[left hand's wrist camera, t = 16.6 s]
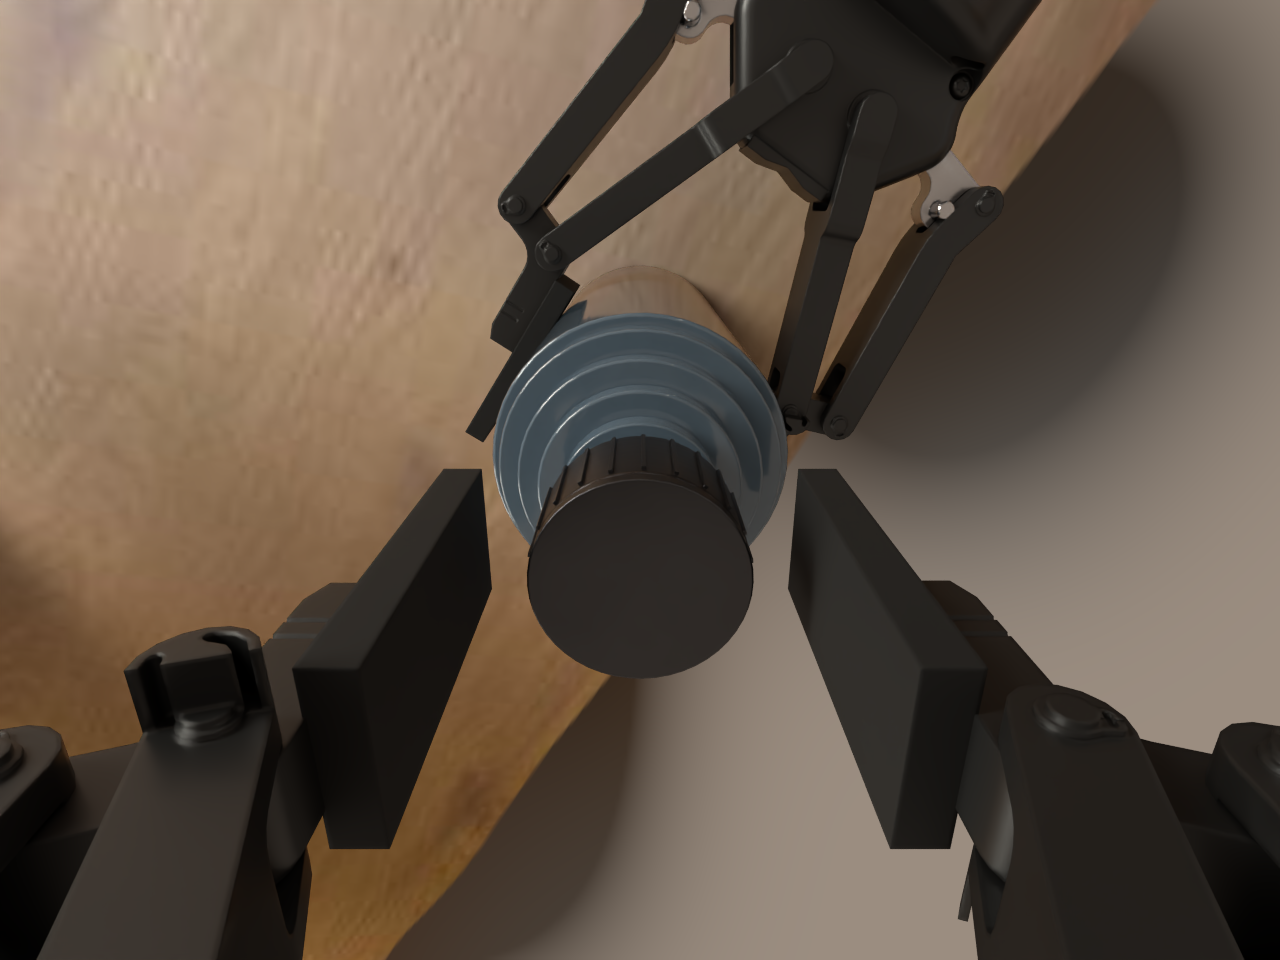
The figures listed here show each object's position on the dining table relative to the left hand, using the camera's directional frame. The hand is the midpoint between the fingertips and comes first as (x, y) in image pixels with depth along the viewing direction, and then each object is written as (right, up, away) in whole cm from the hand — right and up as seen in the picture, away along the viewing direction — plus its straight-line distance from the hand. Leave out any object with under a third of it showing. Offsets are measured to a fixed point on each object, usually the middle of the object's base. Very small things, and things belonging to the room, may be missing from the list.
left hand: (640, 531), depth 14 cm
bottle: (0, +7, +19) cm, 20 cm away
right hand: (-3, +1, +14) cm, 14 cm away
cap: (0, -1, -2) cm, 2 cm away
